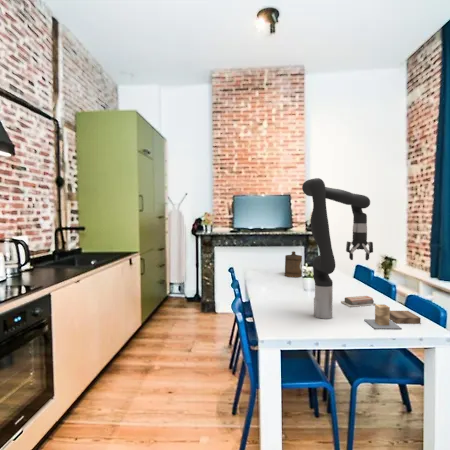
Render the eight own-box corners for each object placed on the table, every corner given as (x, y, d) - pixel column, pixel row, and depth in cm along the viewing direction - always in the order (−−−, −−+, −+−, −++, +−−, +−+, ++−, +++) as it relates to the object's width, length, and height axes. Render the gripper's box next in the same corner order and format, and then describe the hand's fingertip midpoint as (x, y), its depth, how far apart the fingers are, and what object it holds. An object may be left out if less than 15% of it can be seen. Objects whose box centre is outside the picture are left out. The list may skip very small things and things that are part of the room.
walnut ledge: (396, 323, 168) (396, 317, 168) (385, 316, 180) (385, 310, 180) (420, 323, 168) (420, 317, 167) (408, 316, 180) (408, 310, 179)
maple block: (379, 325, 164) (379, 307, 164) (374, 321, 169) (375, 304, 169) (389, 325, 164) (389, 307, 163) (384, 321, 169) (385, 304, 168)
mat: (374, 329, 160) (374, 328, 160) (364, 320, 173) (364, 319, 173) (401, 329, 160) (401, 328, 160) (389, 320, 173) (389, 319, 173)
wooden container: (304, 277, 288) (304, 252, 288) (289, 278, 285) (289, 252, 284) (297, 274, 303) (297, 250, 302) (282, 274, 299) (282, 250, 299)
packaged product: (365, 294, 210) (376, 298, 201) (365, 301, 210) (376, 306, 201) (340, 296, 206) (350, 300, 197) (340, 303, 206) (349, 308, 197)
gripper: (349, 231, 182) (348, 260, 183) (375, 231, 182) (374, 261, 182) (344, 231, 190) (344, 259, 190) (369, 231, 189) (369, 259, 190)
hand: (359, 260), depth 186 cm, fingers open, 8 cm apart
